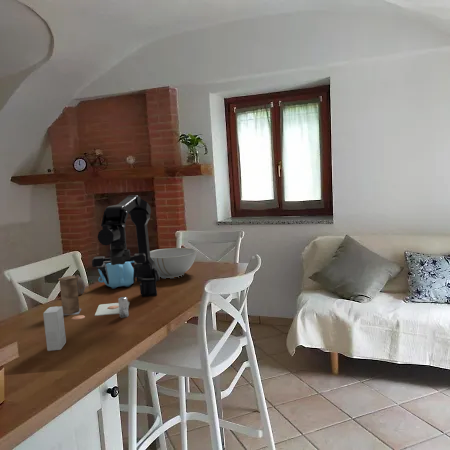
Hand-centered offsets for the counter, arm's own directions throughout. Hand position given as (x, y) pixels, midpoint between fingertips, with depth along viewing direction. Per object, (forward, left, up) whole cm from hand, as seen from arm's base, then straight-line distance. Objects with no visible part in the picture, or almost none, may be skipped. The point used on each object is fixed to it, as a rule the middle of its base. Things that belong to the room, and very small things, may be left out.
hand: (121, 283), depth 162 cm
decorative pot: (+5, -50, -13) cm, 52 cm away
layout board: (+11, -10, -13) cm, 19 cm away
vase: (+23, -40, -13) cm, 48 cm away
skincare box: (+19, +24, -13) cm, 33 cm away
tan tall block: (+21, -12, -12) cm, 27 cm away
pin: (0, 0, -13) cm, 13 cm away
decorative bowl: (-20, -61, -13) cm, 65 cm away
